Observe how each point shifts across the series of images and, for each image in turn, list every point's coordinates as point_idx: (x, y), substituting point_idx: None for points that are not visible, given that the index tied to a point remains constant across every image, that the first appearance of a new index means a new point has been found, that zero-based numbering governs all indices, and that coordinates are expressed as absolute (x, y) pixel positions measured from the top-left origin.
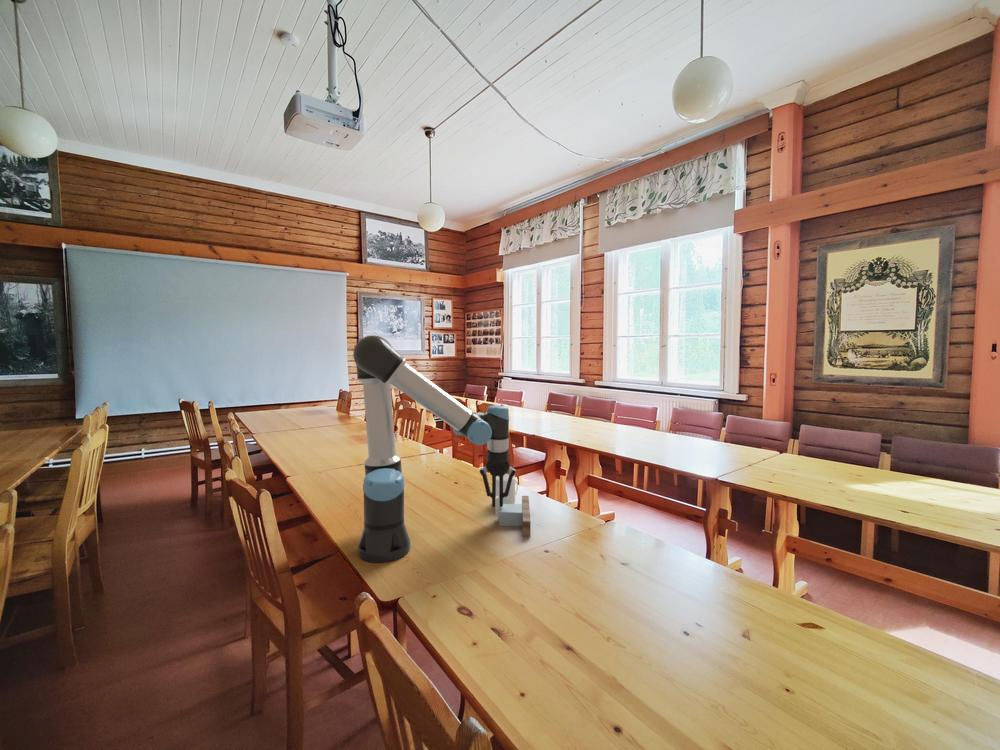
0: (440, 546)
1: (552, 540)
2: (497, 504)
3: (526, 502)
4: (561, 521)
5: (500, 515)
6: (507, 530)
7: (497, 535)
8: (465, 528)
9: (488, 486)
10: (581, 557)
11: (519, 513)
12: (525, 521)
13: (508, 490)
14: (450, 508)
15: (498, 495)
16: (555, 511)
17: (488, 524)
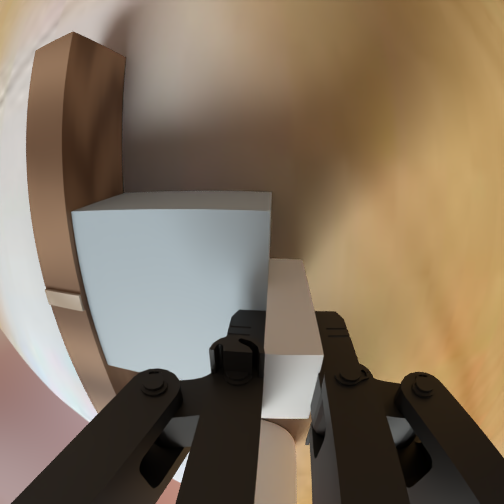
0: (500, 14)
1: (26, 67)
2: (289, 310)
3: (87, 374)
4: (6, 260)
5: (257, 204)
6: (211, 117)
7: (277, 44)
8: (465, 160)
9: (462, 488)
10: (5, 5)
11: (92, 209)
12: (59, 38)
13: (95, 432)
14: (470, 379)
15: (271, 466)
16: (43, 350)
17: (344, 210)
